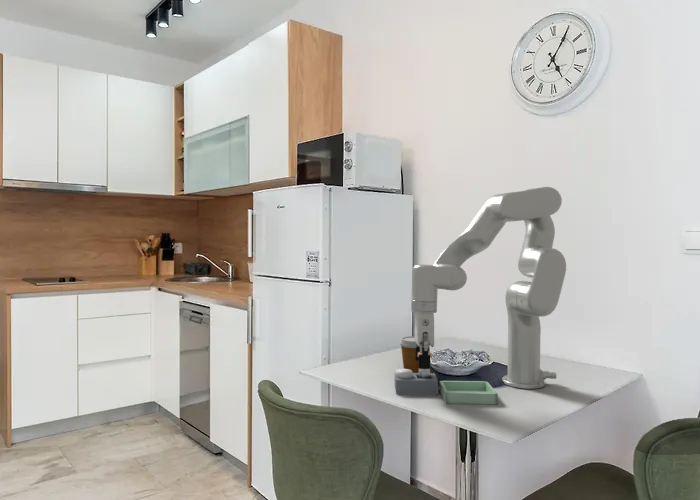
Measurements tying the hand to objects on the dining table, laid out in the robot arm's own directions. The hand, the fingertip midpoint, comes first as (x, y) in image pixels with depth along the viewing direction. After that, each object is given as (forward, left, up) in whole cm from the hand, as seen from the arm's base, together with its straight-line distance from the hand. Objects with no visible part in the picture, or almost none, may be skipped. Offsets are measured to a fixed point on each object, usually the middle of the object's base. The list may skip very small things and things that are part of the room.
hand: (422, 364), depth 151 cm
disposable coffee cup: (+1, -16, -8) cm, 18 cm away
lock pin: (-1, 0, -8) cm, 8 cm away
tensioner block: (+2, 0, -8) cm, 8 cm away
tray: (-12, +6, -8) cm, 15 cm away
